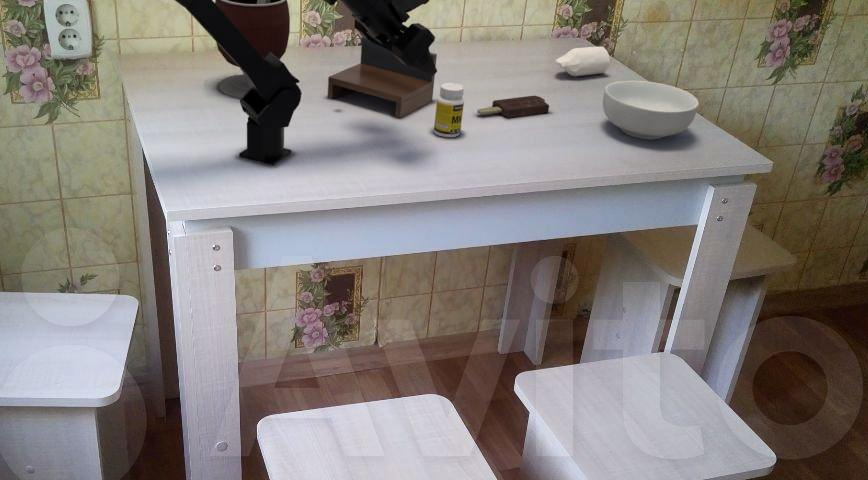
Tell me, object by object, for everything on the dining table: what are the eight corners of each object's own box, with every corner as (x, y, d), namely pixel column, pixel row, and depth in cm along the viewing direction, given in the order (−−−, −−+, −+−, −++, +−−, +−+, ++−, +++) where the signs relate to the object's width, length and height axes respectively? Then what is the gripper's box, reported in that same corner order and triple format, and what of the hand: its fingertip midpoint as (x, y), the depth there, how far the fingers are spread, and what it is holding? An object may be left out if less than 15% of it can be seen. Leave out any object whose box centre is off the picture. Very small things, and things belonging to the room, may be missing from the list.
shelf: (399, 118, 179) (403, 69, 174) (327, 97, 186) (329, 49, 181) (432, 101, 187) (437, 54, 182) (362, 81, 194) (364, 35, 189)
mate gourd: (261, 106, 180) (261, -7, 168) (200, 89, 185) (196, -22, 174) (307, 84, 191) (310, -23, 180) (248, 69, 196) (247, -37, 185)
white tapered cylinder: (544, 73, 205) (548, 46, 202) (589, 68, 210) (594, 41, 207) (562, 83, 201) (567, 55, 198) (607, 77, 206) (612, 50, 203)
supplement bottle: (452, 140, 172) (457, 93, 167) (428, 133, 174) (433, 86, 169) (464, 132, 175) (470, 86, 170) (441, 125, 177) (446, 79, 172)
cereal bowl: (705, 149, 175) (715, 111, 171) (617, 150, 173) (625, 111, 169) (666, 115, 189) (675, 78, 185) (584, 115, 186) (591, 78, 182)
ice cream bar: (485, 121, 180) (551, 112, 186) (486, 112, 179) (553, 104, 185) (470, 111, 184) (535, 103, 190) (471, 103, 183) (537, 94, 189)
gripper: (429, -25, 146) (483, 44, 157) (375, -53, 160) (428, 12, 171) (378, 33, 148) (435, 97, 158) (329, 0, 162) (384, 61, 172)
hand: (421, 64), depth 165 cm, fingers open, 9 cm apart
